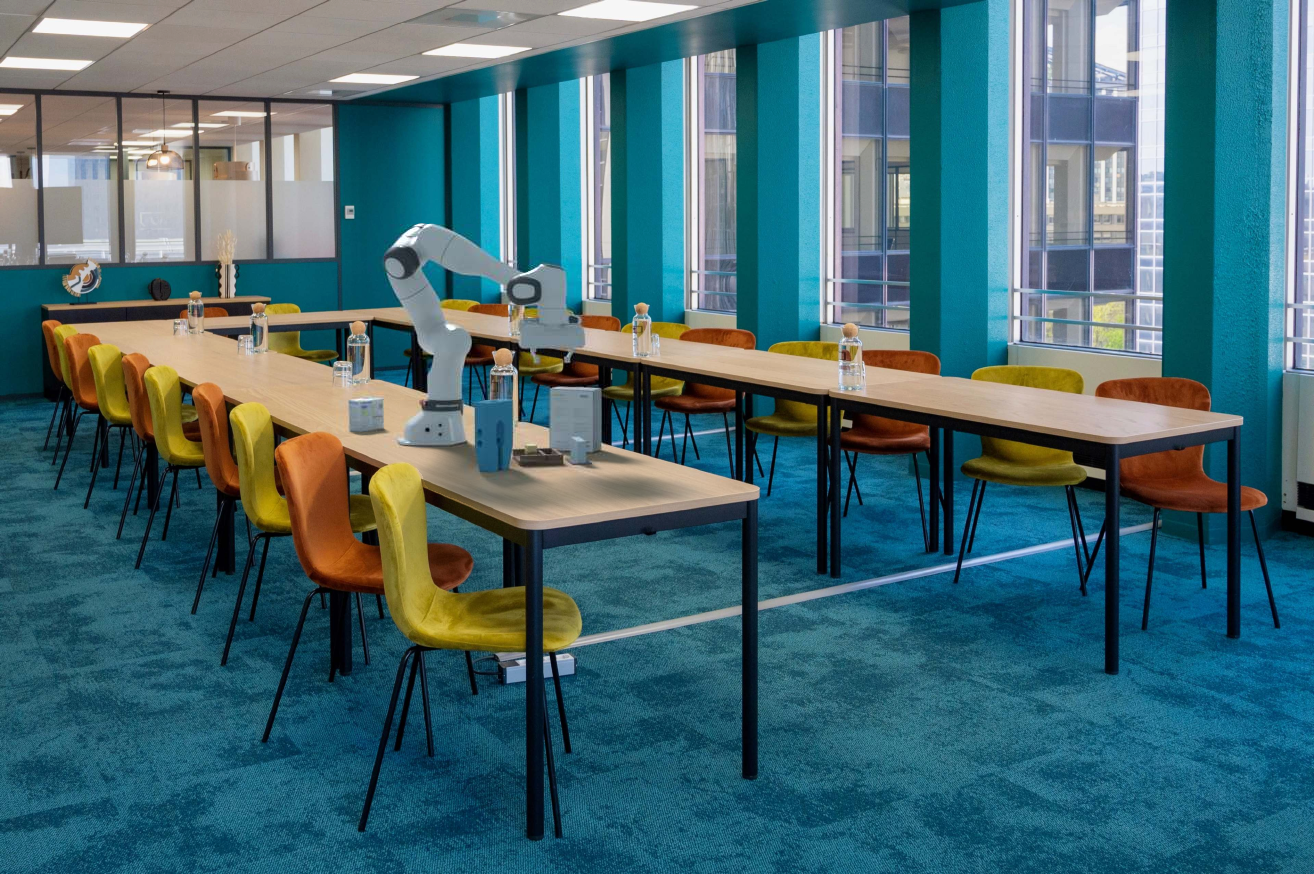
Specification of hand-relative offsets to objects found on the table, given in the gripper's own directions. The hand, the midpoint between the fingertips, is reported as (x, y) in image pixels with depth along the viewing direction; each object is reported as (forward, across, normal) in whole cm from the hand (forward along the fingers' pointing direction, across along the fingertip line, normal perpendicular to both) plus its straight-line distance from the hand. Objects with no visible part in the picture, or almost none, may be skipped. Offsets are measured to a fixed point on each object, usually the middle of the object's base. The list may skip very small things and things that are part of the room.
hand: (552, 362), depth 384 cm
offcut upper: (+26, -8, -6) cm, 28 cm away
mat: (+29, +6, -10) cm, 31 cm away
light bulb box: (+29, -51, +68) cm, 90 cm away
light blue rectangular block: (+29, +6, -11) cm, 31 cm away
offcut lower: (+28, -8, -6) cm, 29 cm away
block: (+29, -21, -18) cm, 40 cm away
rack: (+29, -6, -8) cm, 31 cm away
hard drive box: (+29, +10, +11) cm, 33 cm away
